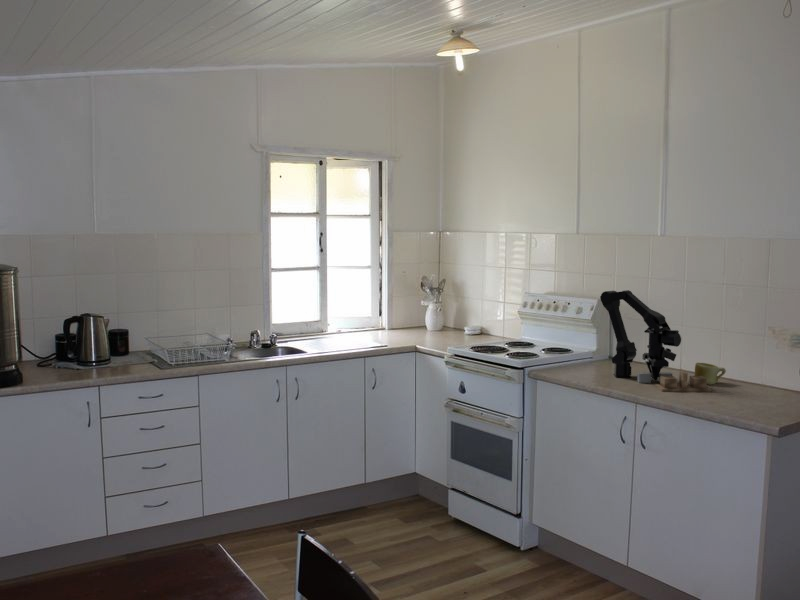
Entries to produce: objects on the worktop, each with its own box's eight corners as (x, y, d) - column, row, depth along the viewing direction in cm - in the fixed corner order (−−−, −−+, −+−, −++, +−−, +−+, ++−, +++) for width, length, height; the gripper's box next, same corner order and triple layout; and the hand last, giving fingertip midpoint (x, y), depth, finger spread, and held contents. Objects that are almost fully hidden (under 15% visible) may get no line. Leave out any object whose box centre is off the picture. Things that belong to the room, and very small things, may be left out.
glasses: (639, 382, 326) (639, 373, 325) (637, 381, 328) (637, 372, 328) (672, 383, 325) (672, 373, 324) (669, 381, 328) (670, 372, 327)
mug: (689, 379, 322) (696, 357, 323) (691, 382, 331) (698, 361, 332) (719, 388, 316) (726, 365, 317) (721, 391, 325) (727, 369, 326)
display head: (661, 391, 309) (662, 374, 309) (655, 386, 318) (655, 370, 318) (711, 391, 308) (712, 374, 308) (703, 386, 317) (704, 370, 317)
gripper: (681, 347, 315) (680, 384, 317) (668, 340, 334) (667, 375, 335) (654, 347, 316) (653, 384, 317) (642, 340, 334) (641, 374, 336)
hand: (654, 379), depth 327 cm, fingers closed on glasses, 3 cm apart
